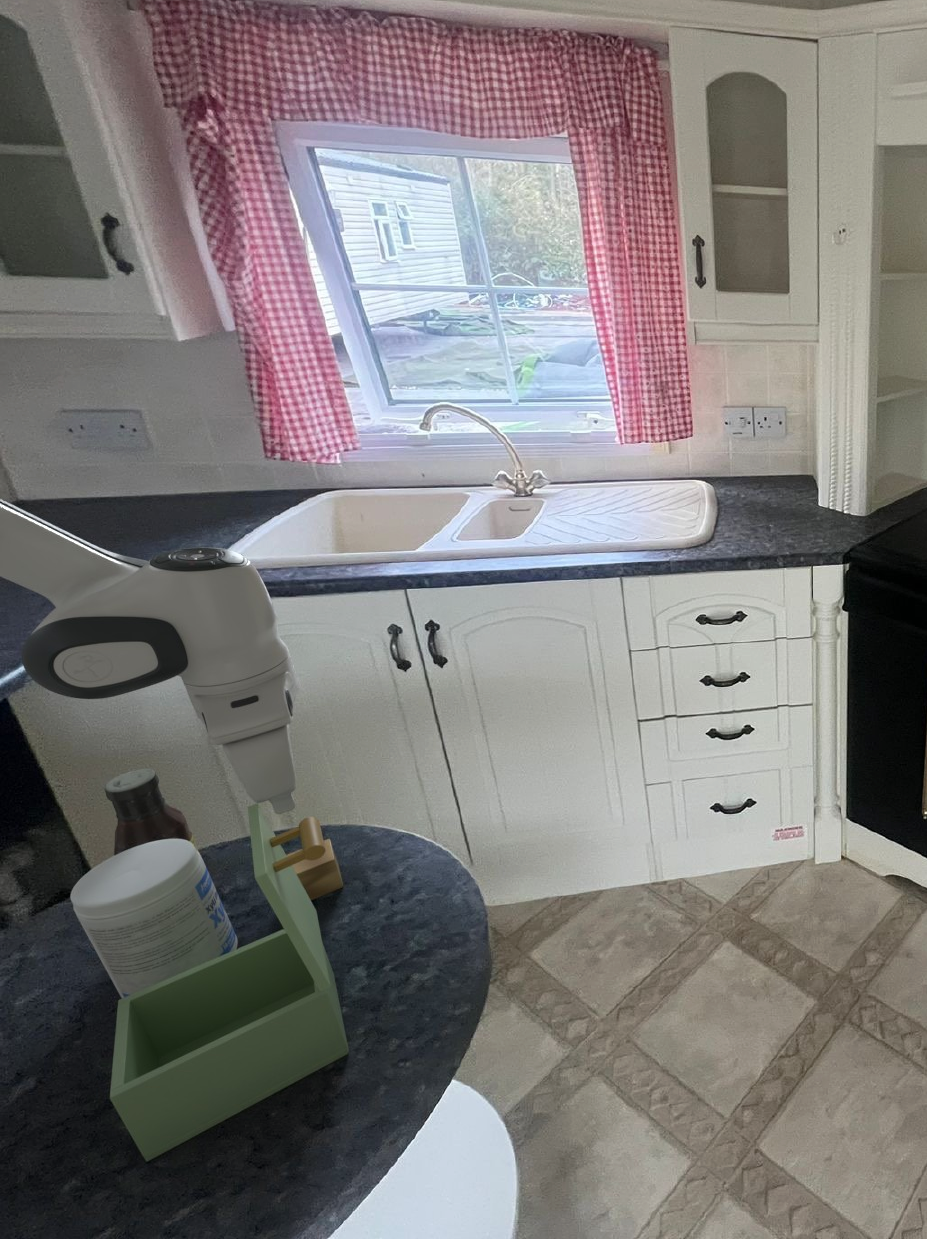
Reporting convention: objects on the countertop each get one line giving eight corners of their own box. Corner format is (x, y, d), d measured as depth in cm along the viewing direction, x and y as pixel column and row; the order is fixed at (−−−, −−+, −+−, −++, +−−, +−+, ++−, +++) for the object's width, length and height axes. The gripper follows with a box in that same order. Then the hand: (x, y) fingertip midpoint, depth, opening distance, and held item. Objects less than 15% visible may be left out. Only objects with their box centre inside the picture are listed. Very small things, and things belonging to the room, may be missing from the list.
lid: (254, 878, 64) (319, 849, 67) (247, 806, 72) (305, 783, 75) (320, 992, 71) (377, 961, 74) (307, 915, 79) (358, 890, 81)
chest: (146, 1162, 65) (109, 1098, 62) (150, 1061, 73) (118, 999, 70) (349, 1053, 74) (326, 992, 71) (333, 974, 82) (312, 916, 79)
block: (297, 906, 90) (286, 877, 89) (293, 883, 93) (283, 855, 92) (343, 886, 93) (334, 859, 91) (338, 865, 96) (329, 838, 95)
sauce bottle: (131, 940, 85) (64, 804, 78) (166, 898, 91) (107, 766, 83) (200, 929, 87) (141, 794, 79) (230, 888, 92) (178, 758, 85)
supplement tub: (258, 952, 84) (217, 854, 79) (151, 1026, 76) (97, 921, 71) (210, 922, 88) (168, 825, 82) (102, 989, 80) (47, 886, 74)
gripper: (206, 659, 86) (243, 755, 92) (208, 741, 73) (251, 849, 78) (275, 642, 90) (307, 735, 96) (290, 717, 77) (326, 821, 82)
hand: (282, 787), depth 87 cm, fingers open, 8 cm apart
